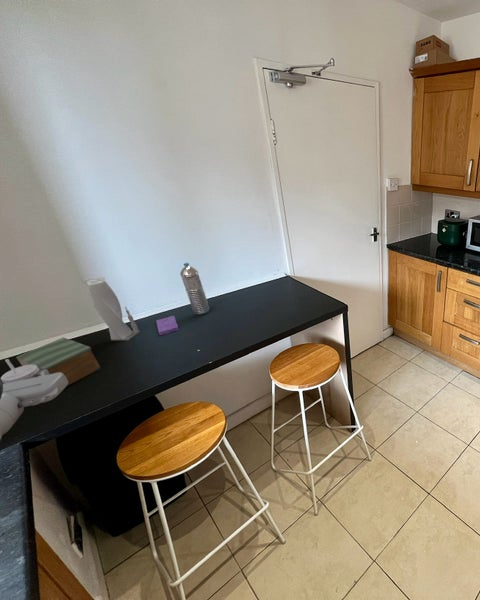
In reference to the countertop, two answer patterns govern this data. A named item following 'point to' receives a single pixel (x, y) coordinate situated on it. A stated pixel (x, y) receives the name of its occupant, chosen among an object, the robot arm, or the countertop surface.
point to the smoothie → (19, 373)
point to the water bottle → (194, 290)
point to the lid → (53, 353)
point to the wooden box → (74, 366)
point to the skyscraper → (110, 309)
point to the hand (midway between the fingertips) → (24, 376)
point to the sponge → (167, 325)
